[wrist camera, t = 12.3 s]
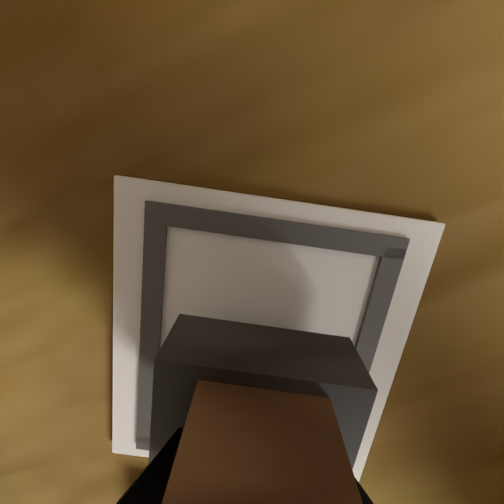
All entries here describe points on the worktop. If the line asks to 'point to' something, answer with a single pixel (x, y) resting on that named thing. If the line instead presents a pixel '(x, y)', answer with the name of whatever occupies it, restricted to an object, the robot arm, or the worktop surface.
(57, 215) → the worktop surface
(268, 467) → the stamp
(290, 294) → the marked card
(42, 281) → the worktop surface
